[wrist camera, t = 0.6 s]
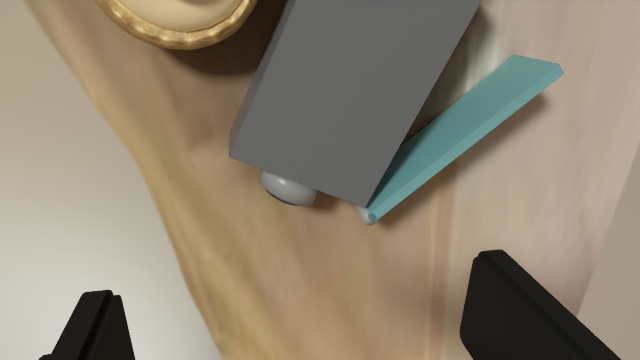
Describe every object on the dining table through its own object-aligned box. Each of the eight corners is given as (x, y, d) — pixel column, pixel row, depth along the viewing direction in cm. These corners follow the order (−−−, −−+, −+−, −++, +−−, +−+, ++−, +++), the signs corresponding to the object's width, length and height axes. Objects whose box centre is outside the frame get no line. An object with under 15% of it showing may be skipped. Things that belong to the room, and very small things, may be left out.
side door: (514, 53, 38) (559, 63, 32) (519, 64, 38) (564, 74, 33) (344, 190, 40) (360, 219, 35) (351, 198, 41) (368, 228, 35)
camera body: (331, -108, 30) (356, -135, 24) (457, -26, 34) (505, -30, 28) (219, 157, 37) (216, 189, 31) (335, 200, 41) (353, 236, 35)
